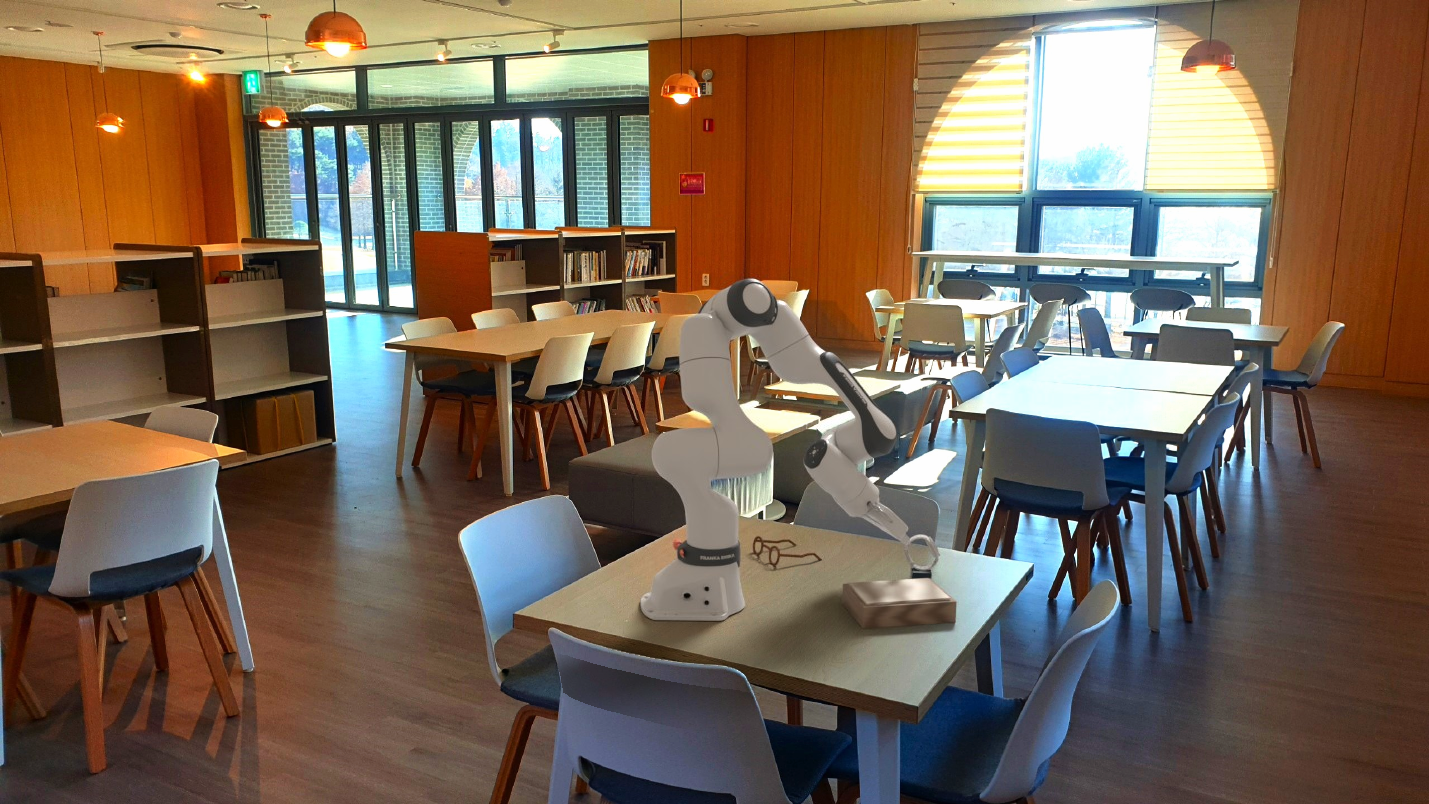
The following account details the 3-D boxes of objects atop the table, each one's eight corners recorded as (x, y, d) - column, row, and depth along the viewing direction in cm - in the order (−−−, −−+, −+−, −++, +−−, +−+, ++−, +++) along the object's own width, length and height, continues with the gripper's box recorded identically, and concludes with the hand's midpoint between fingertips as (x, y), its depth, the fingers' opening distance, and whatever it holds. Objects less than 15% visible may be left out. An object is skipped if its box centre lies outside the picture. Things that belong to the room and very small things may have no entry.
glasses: (751, 553, 255) (751, 534, 254) (796, 546, 260) (797, 528, 259) (776, 569, 243) (776, 549, 242) (823, 562, 249) (823, 542, 248)
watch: (939, 586, 231) (942, 540, 229) (903, 585, 232) (905, 538, 230) (937, 578, 236) (939, 533, 234) (902, 576, 237) (904, 531, 235)
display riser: (863, 628, 207) (863, 605, 206) (842, 603, 220) (842, 581, 219) (955, 622, 210) (956, 599, 209) (929, 597, 224) (930, 576, 223)
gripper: (890, 499, 217) (929, 538, 222) (848, 475, 236) (884, 512, 241) (871, 521, 216) (910, 560, 221) (830, 495, 235) (867, 532, 240)
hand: (896, 535), depth 231 cm, fingers open, 8 cm apart
